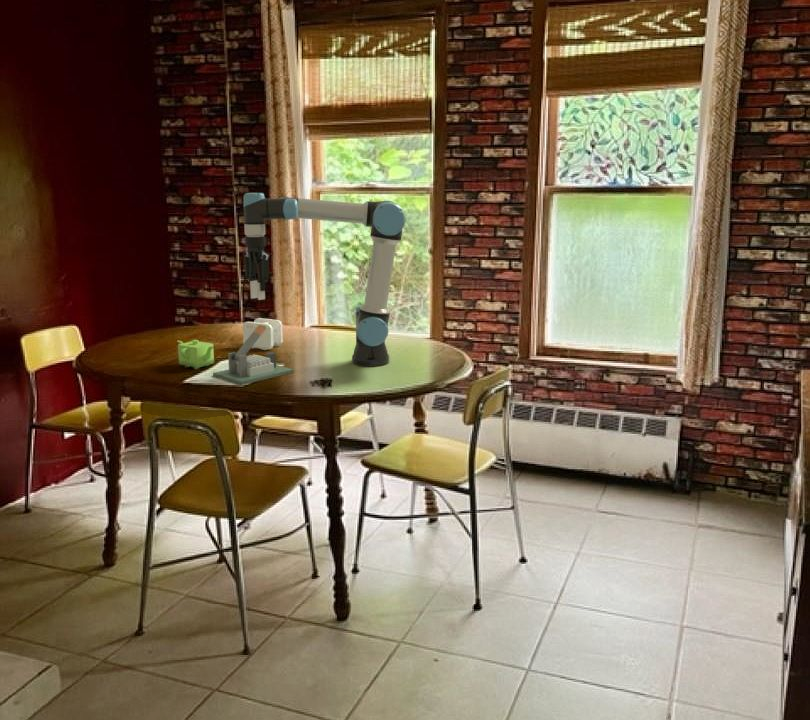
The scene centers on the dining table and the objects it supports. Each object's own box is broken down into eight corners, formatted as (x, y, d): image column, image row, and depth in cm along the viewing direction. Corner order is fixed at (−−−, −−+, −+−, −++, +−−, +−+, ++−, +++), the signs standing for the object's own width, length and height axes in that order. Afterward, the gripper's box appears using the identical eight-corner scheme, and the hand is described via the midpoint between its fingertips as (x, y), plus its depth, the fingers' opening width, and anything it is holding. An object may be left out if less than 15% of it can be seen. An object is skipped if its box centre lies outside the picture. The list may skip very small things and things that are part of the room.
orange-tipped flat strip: (268, 328, 297) (265, 325, 296) (241, 362, 291) (238, 359, 290) (260, 327, 300) (257, 323, 299) (233, 360, 294) (230, 357, 293)
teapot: (215, 369, 305) (214, 343, 303) (180, 372, 301) (178, 345, 299) (212, 360, 319) (211, 335, 317) (178, 363, 315) (176, 337, 313)
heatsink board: (293, 372, 302) (292, 349, 299) (241, 384, 284) (240, 360, 282) (264, 364, 313) (263, 342, 311) (213, 375, 296) (211, 352, 294)
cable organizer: (284, 346, 345) (284, 320, 342) (270, 351, 336) (269, 324, 333) (257, 343, 351) (256, 317, 348) (242, 347, 342) (241, 321, 339)
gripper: (277, 236, 286) (280, 300, 292) (249, 233, 297) (252, 295, 303) (261, 237, 281) (263, 302, 286) (233, 235, 292) (236, 297, 297)
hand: (257, 298), depth 294 cm, fingers open, 4 cm apart
